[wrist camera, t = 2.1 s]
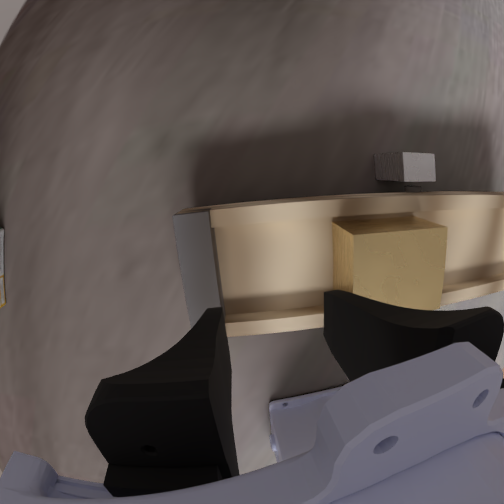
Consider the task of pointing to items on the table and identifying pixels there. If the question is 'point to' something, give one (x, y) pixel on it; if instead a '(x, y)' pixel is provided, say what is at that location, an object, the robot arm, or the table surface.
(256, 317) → the beam
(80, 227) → the table surface
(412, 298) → the block
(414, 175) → the grey rectangular bar
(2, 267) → the crayon box
